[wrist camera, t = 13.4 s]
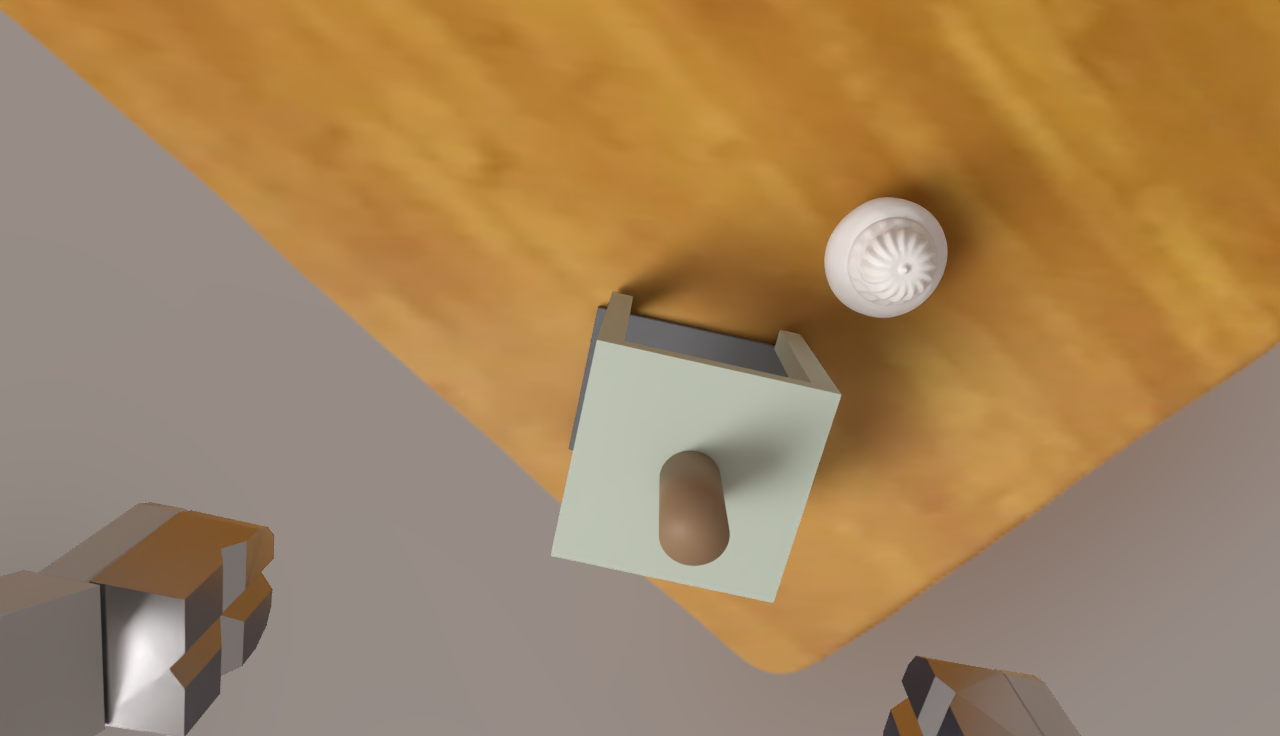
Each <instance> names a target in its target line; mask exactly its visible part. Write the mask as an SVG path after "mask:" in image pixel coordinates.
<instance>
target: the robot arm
mask: <svg viewBox="0 0 1280 736" xmlns="http://www.w3.org/2000/svg"><path fill="white" fill-rule="evenodd" d="M273 559H274V534H273V533H272V532H271V530H270V529H269V528H268V527H265V526H260V525H256V524H251V523H247V522H242V521H237V520H233V519H229V518H224V517H220V516H215V515H210V514H205V513H201V512H196V511H192V510H190V511H188V510H186V509H183V508H177V507H173V506H167V505H162V504H157V503H152V502H149V503H139V504H137V505H136V506H134V507H133V508H132V509H130V510H128V511H127V512H126V513H124V514H123V515H121V516H120V517H118V518H117V519H115V520H114V521H112V522H111V523H110V524H108V525H107V526H105V527H104V528H102V529H101V530H99V531H98V532H96V533H95V534H94V535H92V536H91V537H89V538H88V539H86V540H85V541H83V542H82V543H81V544H79V545H78V546H76V547H75V548H73V549H72V550H70V551H69V552H68V553H66V554H65V555H63V556H62V557H60V558H59V559H57V560H56V561H54V562H53V563H51V564H50V565H49V566H47V567H46V568H44V569H43V570H41V571H40V572H39V573H35V572H31V571H25V570H23V571H19V572H16V573H12V574H8V575H4V576H1V577H0V736H94V735H96V734H98V733H99V732H101V731H103V730H104V729H105V725H107V726H114V727H120V728H126V729H132V730H138V731H145V732H151V733H158V734H164V735H171V736H186V735H187V734H188V732H189V731H190V730H191V729H192V727H193V726H194V725H195V724H196V723H197V721H198V720H199V719H200V717H201V716H202V715H203V714H204V713H205V711H206V710H207V709H208V708H209V706H210V705H211V704H212V703H213V702H214V700H215V699H216V698H217V697H218V695H219V694H220V681H221V676H222V675H224V674H226V673H228V672H230V671H233V670H235V669H237V668H239V667H241V666H243V664H244V663H245V662H246V660H247V659H248V658H249V657H250V655H251V654H252V653H253V651H254V650H255V649H256V647H257V644H258V643H259V640H260V638H261V636H262V634H263V632H264V630H265V628H266V626H267V622H268V617H269V613H270V609H271V602H272V601H271V600H272V588H271V586H270V585H269V583H268V582H267V580H266V578H265V577H264V575H263V574H262V571H263V570H264V568H265V567H266V566H267V565H268V564H269V563H270V562H271V561H272V560H273ZM902 684H903V686H904V689H905V691H906V693H907V696H908V698H907V699H905V700H904V701H902V702H901V703H900V704H898V705H897V706H895V707H894V708H892V709H891V710H890V713H889V716H888V719H887V722H886V725H885V728H884V731H883V736H1081V735H1080V734H1079V732H1078V731H1077V729H1076V728H1075V726H1074V725H1073V723H1072V722H1071V720H1070V719H1069V717H1068V716H1067V715H1066V713H1065V712H1064V710H1063V709H1062V707H1061V706H1060V704H1059V703H1058V701H1057V700H1056V698H1055V697H1054V695H1053V694H1052V692H1051V691H1050V689H1049V688H1048V687H1047V685H1046V684H1045V683H1044V682H1043V681H1042V680H1040V679H1039V678H1037V677H1036V676H1034V675H1029V674H1022V673H1016V672H1010V671H1004V670H997V669H994V670H991V669H987V668H981V667H976V666H970V665H965V664H959V663H954V662H948V661H943V660H937V659H932V658H926V657H921V656H915V657H914V658H913V660H912V661H911V662H910V663H909V664H908V667H907V669H906V671H905V674H904V676H903V679H902Z"/></svg>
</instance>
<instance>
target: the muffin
mask: <svg viewBox="0 0 1280 736" xmlns="http://www.w3.org/2000/svg"><path fill="white" fill-rule="evenodd" d="M947 254H948V250H947V242H946V238H945V234H944V232H943V229H942V228H941V226H940V224H939V222H938V221H937V220H936V218H935V217H934V216H933V215H932V214H931V213H930V212H929V211H928V210H926V209H925V208H923V207H922V206H920V205H918V204H916V203H914V202H911V201H908V200H905V199H900V198H894V197H883V198H876V199H873V200H870V201H867V202H865V203H863V204H861V205H860V206H858V207H857V208H855V209H854V210H852V211H851V212H850V213H849V214H847V215H846V216H845V217H844V218H843V219H842V220H841V221H840V222H839V224H838V225H837V226H836V228H835V229H834V231H833V232H832V234H831V236H830V238H829V241H828V243H827V246H826V250H825V257H824V266H825V273H826V278H827V281H828V283H829V286H830V288H831V290H832V291H833V293H834V294H835V296H836V297H837V298H838V299H839V300H840V301H841V302H842V303H843V304H844V305H846V306H847V307H849V308H850V309H852V310H854V311H856V312H858V313H861V314H863V315H867V316H871V317H877V318H890V317H895V316H899V315H902V314H905V313H907V312H909V311H911V310H913V309H915V308H916V307H918V306H919V305H920V304H922V303H923V302H924V301H925V300H926V299H927V298H928V297H929V296H930V295H931V294H932V293H933V291H934V290H935V289H936V287H937V286H938V284H939V282H940V280H941V278H942V276H943V273H944V271H945V267H946V263H947Z"/></svg>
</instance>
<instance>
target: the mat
mask: <svg viewBox="0 0 1280 736" xmlns="http://www.w3.org/2000/svg"><path fill="white" fill-rule="evenodd" d="M606 310H607V308H604V307H599V306H598V310H597V314H596V319H595V324H594V329H593V334H592V339H591V344H590V348H589V353H588V358H587V363H586V368H585V373H584V378H583V382H582V387H581V392H580V397H579V402H578V407H577V412H576V417H575V421H574V426H573V431H572V436H571V441H570V446H569V449H571V450H573V449H574V445H575V440H576V435H577V431H578V426H579V421H580V416H581V412H582V407H583V402H584V398H585V393H586V388H587V384H588V379H589V374H590V370H591V365H592V360H593V356H594V351H595V346H596V342H597V338H598V335H599V332H600V329H601V326H602V323H603V320H604V316H605V313H606ZM625 341H627V342H632V343H636V344H641V345H645V346H650V347H654V348H659V349H663V350H667V351H672V352H676V353H681V354H685V355H690V356H694V357H699V358H703V359H708V360H712V361H716V362H721V363H725V364H730V365H734V366H739V367H743V368H748V369H752V370H757V371H761V372H766V373H770V374H774V375H779V376H783V377H788V375H787V373H786V371H785V369H784V367H783V365H782V363H781V361H780V359H779V357H778V356H777V354H776V352H775V350H774V348H775V345H772V344H767V343H763V342H758V341H754V340H749V339H745V338H740V337H736V336H731V335H727V334H722V333H718V332H713V331H708V330H704V329H699V328H695V327H690V326H686V325H681V324H677V323H672V322H668V321H663V320H658V319H654V318H649V317H645V316H640V315H636V314H631V313H630V316H629V321H628V327H627V332H626V337H625ZM788 378H789V377H788Z"/></svg>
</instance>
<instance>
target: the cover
mask: <svg viewBox="0 0 1280 736" xmlns="http://www.w3.org/2000/svg"><path fill="white" fill-rule="evenodd" d="M632 300H633V296H630V295H625V294H621V293H617V292H612V295H611V298H610V301H609V304H608V307H607V310H606V313H605V316H604V320H603V323H602V326H601V329H600V332H599V335H598V338H597V342H596V346H595V351H594V356H593V360H592V365H591V370H590V374H589V379H588V384H587V388H586V393H585V398H584V402H583V407H582V412H581V416H580V421H579V426H578V431H577V435H576V440H575V445H574V449H573V454H572V459H571V463H570V468H569V473H568V477H567V482H566V487H565V491H564V496H563V501H562V505H561V510H560V515H559V519H558V524H557V529H556V533H555V538H554V543H553V547H552V552H551V556H554V557H560V558H564V559H568V560H573V561H578V562H583V563H588V564H592V565H597V566H602V567H606V568H611V569H616V570H620V571H625V572H630V573H634V574H639V575H644V576H648V577H653V578H658V579H663V580H667V581H672V582H677V583H681V584H686V585H691V586H696V587H700V588H705V589H710V590H714V591H719V592H724V593H729V594H733V595H738V596H743V597H747V598H752V599H757V600H762V601H766V602H771V603H773V602H774V599H775V596H776V593H777V590H778V587H779V584H780V581H781V578H782V575H783V572H784V569H785V566H786V563H787V560H788V557H789V553H790V550H791V547H792V544H793V541H794V538H795V535H796V532H797V529H798V526H799V523H800V520H801V517H802V514H803V511H804V508H805V505H806V502H807V499H808V496H809V492H810V489H811V486H812V483H813V480H814V477H815V474H816V471H817V468H818V465H819V462H820V459H821V456H822V453H823V450H824V447H825V444H826V441H827V438H828V435H829V432H830V428H831V425H832V422H833V419H834V416H835V413H836V410H837V407H838V404H839V401H840V398H841V395H842V394H841V393H840V392H839V390H838V389H837V387H836V386H835V384H834V383H833V381H832V380H831V378H830V377H829V375H828V374H827V373H826V371H825V370H824V368H823V367H822V365H821V364H820V362H819V361H818V359H817V358H816V356H815V355H814V354H813V352H812V351H811V349H810V348H809V346H808V345H807V343H806V342H805V340H804V339H803V337H802V336H801V334H797V333H793V332H789V331H784V330H780V331H779V335H778V338H777V341H776V345H775V348H774V350H775V352H776V354H777V356H778V357H779V359H780V361H781V363H782V365H783V367H784V369H785V371H786V373H787V375H788V377H789V378H788V377H783V376H779V375H774V374H770V373H766V372H761V371H757V370H752V369H748V368H743V367H739V366H734V365H730V364H725V363H721V362H716V361H712V360H708V359H703V358H699V357H694V356H690V355H685V354H681V353H676V352H672V351H667V350H663V349H659V348H654V347H650V346H645V345H641V344H636V343H632V342H627V341H625V337H626V332H627V327H628V321H629V316H630V311H631V306H632Z"/></svg>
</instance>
